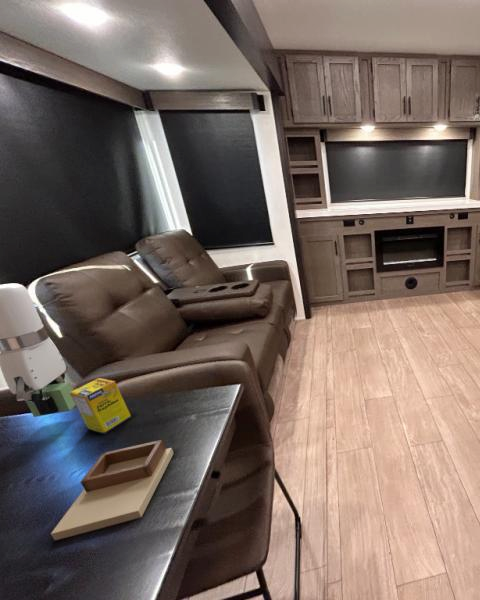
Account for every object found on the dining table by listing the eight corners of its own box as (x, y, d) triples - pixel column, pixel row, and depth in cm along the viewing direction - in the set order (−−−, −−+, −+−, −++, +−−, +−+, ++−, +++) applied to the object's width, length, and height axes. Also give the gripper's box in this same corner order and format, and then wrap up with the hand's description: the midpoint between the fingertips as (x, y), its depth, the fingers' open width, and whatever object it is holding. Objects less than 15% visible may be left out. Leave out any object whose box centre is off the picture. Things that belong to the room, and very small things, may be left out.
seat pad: (142, 519, 53) (132, 500, 51) (55, 542, 50) (42, 523, 49) (174, 454, 66) (167, 437, 64) (106, 470, 63) (97, 453, 61)
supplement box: (132, 418, 78) (115, 380, 74) (105, 436, 72) (84, 396, 69) (117, 414, 80) (99, 377, 76) (88, 431, 74) (68, 392, 70)
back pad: (69, 410, 76) (59, 389, 74) (33, 417, 75) (22, 395, 73) (79, 402, 79) (70, 381, 77) (45, 407, 78) (34, 387, 76)
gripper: (32, 327, 77) (62, 391, 83) (-36, 360, 62) (7, 435, 68) (69, 322, 79) (96, 385, 85) (12, 353, 64) (49, 427, 70)
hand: (56, 407), depth 77 cm, fingers closed on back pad, 3 cm apart
